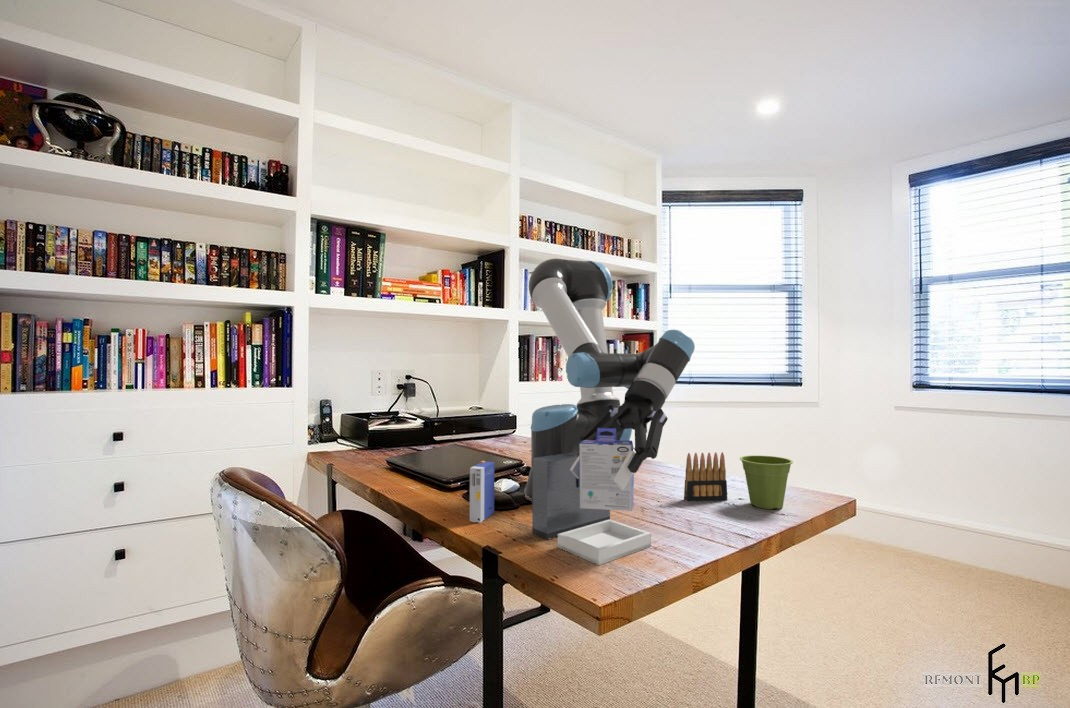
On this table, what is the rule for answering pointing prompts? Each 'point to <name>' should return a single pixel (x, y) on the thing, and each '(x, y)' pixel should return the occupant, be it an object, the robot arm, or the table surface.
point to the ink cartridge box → (604, 473)
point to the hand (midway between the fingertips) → (595, 479)
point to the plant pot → (766, 480)
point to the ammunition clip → (705, 479)
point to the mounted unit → (559, 497)
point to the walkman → (481, 491)
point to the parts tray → (604, 541)
